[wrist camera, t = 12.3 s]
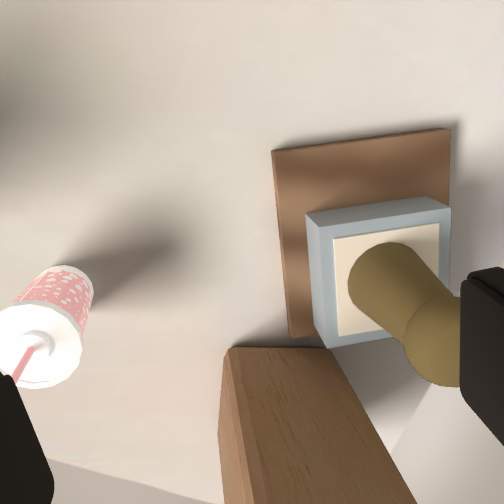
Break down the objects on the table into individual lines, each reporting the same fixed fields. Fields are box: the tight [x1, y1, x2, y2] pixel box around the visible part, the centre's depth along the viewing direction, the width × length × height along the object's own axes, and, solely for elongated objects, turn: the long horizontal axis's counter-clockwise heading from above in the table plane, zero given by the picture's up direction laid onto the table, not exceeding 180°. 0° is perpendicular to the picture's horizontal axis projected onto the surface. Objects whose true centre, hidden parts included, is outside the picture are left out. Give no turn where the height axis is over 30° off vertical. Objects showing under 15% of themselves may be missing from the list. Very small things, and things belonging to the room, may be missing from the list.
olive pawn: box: [347, 242, 460, 387], centre depth 31 cm, size 6×6×11 cm
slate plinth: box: [305, 196, 451, 349], centre depth 38 cm, size 10×10×4 cm
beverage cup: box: [0, 265, 94, 389], centre depth 32 cm, size 6×6×14 cm
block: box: [218, 347, 417, 504], centre depth 35 cm, size 10×10×20 cm
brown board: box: [271, 128, 451, 339], centre depth 40 cm, size 16×14×2 cm
